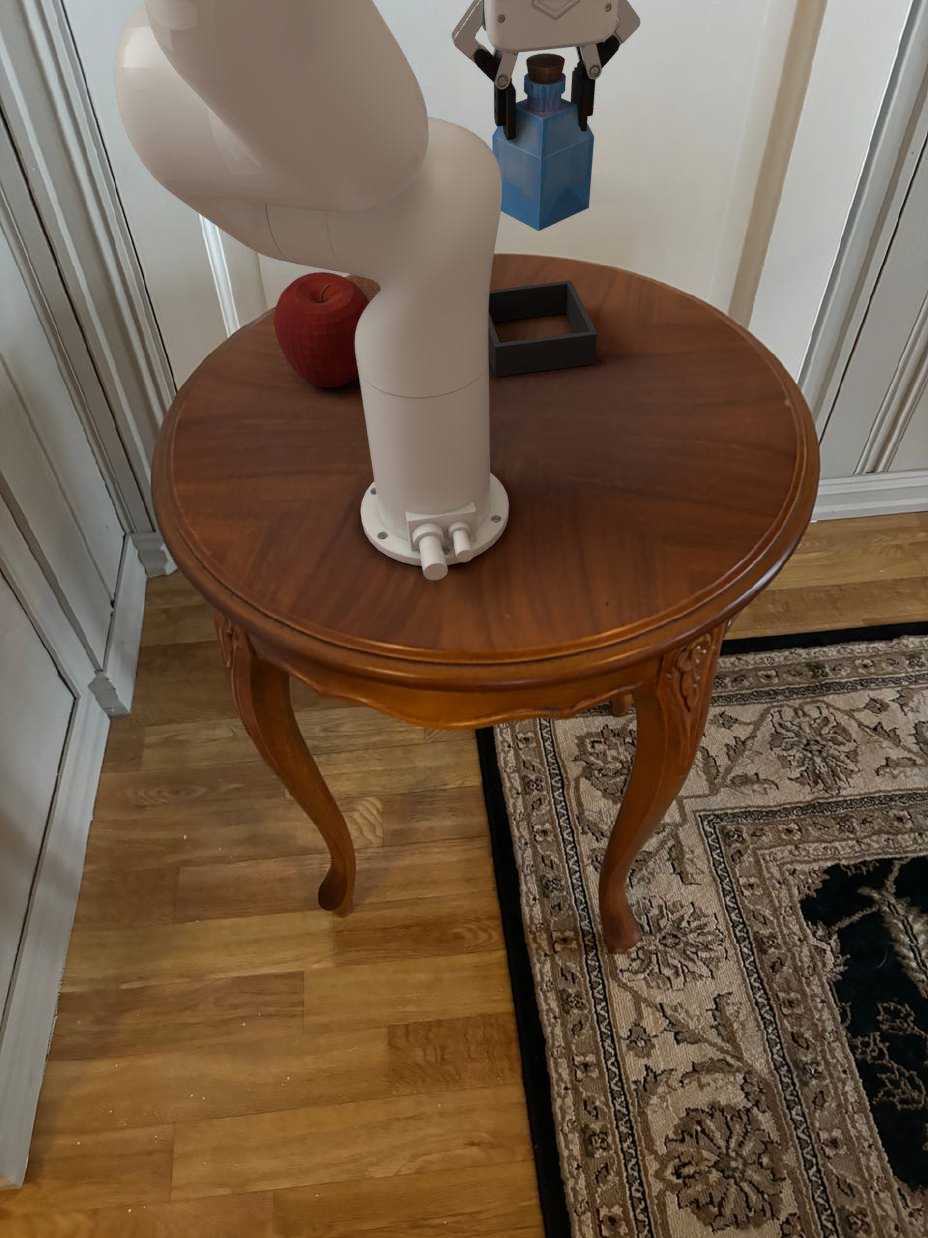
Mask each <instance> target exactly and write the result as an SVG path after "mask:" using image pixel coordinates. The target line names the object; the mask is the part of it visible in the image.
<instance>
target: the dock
mask: <svg viewBox="0 0 928 1238" xmlns="http://www.w3.org/2000/svg"><path fill="white" fill-rule="evenodd" d="M564 314H565V315H566V318H567V320H568V322H569V324H570V327H571V328H572V331H573V333H567V334H566V333H565V334H559V335H550V336H544V337H537V338H530V339H528V338H527V339H521V340H520V339H519V340H513V341H505V342H500V339H499V337H498V333H497V332H496V328H495V325H494V324H495V323H503V322H510V321H518V320H519V321H520V320H525V319H535V318H542V317H549V316H557V315H564ZM597 341H598V332H597V330H596V328H595V325H594V324H593V322H592V320H591V318H590V316H589V314H588V312H587V310H586V308H585V305H584V303H583V301H582V299H581V297H580V295H579V293H578V291H577V289H576V287H575V285H574V283H573V280H571V279H569V280H562V281H554V282H553V281H552V282H545V283H538V284H537V283H536V284H530V285H523V286H522V285H521V286H513V287H506V288H498V289H490V290H489V308H488V357H489V364H490V365H491V368H492V371H493V374H494V377H495V378H500V377H501V378H502V377H510V376H516V375H522V374H523V375H524V374H530V373H537V372H538V373H539V372H545V371H553V370H561V369H568V368H575V367H583V366H589V365H590V366H591V365H595V363H596V353H597V343H598V342H597Z"/></svg>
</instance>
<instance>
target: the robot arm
mask: <svg viewBox="0 0 928 1238" xmlns="http://www.w3.org/2000/svg"><path fill="white" fill-rule="evenodd" d="M640 26H641V18H640V16H639V15H638V13H637V12H636V11H635V9H634V8H633V6H632V5H631V3H630V2H629V1H628V0H472V2H471V4H470V5H469V6H468V8H467V9H466V11H465V12H464V14H463V15H462V17H461V19H460V20H459V21H458V23H457V24H456V26H455V27H454V29H453V30H452V32H451V36H450V37H451V41H452V43H453V45H454V47H455V48H456V49H457V50H459V51H460V52H461V53H462V54H463V55H464V56H465V57H467V58H468V60H470V61H471V62H473V63H474V64H475V65H476V66H477V68H478V69H479V70H480V71H481V72H482V73H483V74H484V75H485V76H486V77H487V78H488V79H489V80H490V81H491V82H492V83H493V118H494V124H495V126H496V128H497V127H498V126H503V132H504V135H505V137H506V139H507V140H513V139H514V138H515V137H516V103H517V89H516V87H515V86H514V83H513V78H512V76H513V73H514V70H515V66H516V63H517V60H518V56H519V53H527V52H529V53H530V52H539V51H549V50H557V49H558V50H559V49H566V48H574V49H575V51H576V55H577V59H578V61H577V62H576V66H574V68H573V70H572V71H571V87H570V102H572V103H574V104H577V105H578V124H579V127H580V128H581V131H584V132H585V131H587V123H588V118H589V117H593V116H594V115H593V114H594V109H595V108H594V106H595V96H596V95H595V94H596V80H597V79H598V78H600V76H601V75H602V71H603V68H604V67H606V65H607V64H608V63H609V62H610V61H611V59H613V57H614V56H615V55H616V54H617V52H618V51H619V50H620V47H621V46H622V44H625V42H626V41H627V40H628V39H629V38H630V37H631V36H632V35H633V34H634V33H635V32H636V31H637V30H638V29H639V27H640ZM481 28H482V29H483V30H484V32H486V35H487V39H488V42H489V43H490V45H491V47H493V48H494V49H493V53H492V52H491V51H489V49H487V47H486V46H484V44H482V43H480V42H479V41H478V40H477V38H476V36H477V34H478V32H479V30H480V29H481ZM395 37H396V36H394V34H393V32H392V31H391V29H390V27H389V26H388V24H387V22H386V21H385V19H384V17H383V16H382V14H381V12H380V11H379V9H378V8H377V5H376V4H375V2H374V1H373V0H143V2H142V3H141V4H140V5H139V6H138V7H136V8H135V10H134V11H133V12H132V13H131V14H130V16H129V18H128V19H127V21H126V22H125V25H124V26H123V28H122V31H121V34H120V36H119V39H118V42H117V45H116V50H115V55H114V63H113V65H114V66H113V68H114V69H113V79H114V80H113V81H114V90H115V92H114V93H115V97H116V103H117V109H118V113H119V116H120V119H121V122H122V125H123V128H124V131H125V133H126V135H127V138H128V140H129V142H130V143H131V146H132V148H133V150H134V151H135V153H136V155H137V157H138V158H139V160H140V162H141V163H142V165H143V166H144V167H145V169H146V170H147V171H148V173H149V174H150V175H151V176H152V177H153V179H155V181H156V182H158V183H159V184H160V186H162V187H163V188H164V189H165V190H166V191H168V192H169V193H171V195H173V196H174V197H176V198H177V199H178V200H179V201H181V202H182V203H184V204H185V205H187V207H189V208H191V209H192V210H194V211H195V212H197V213H198V214H199V215H201V216H202V217H203V218H205V219H206V220H207V221H209V222H210V223H212V224H213V225H214V226H216V227H217V228H218V229H220V230H222V231H223V232H224V233H225V234H227V235H229V236H230V237H232V238H233V239H234V240H236V241H237V242H239V243H240V244H242V245H244V246H245V247H247V248H248V249H250V250H252V251H254V252H256V253H258V254H260V255H262V256H264V257H267V258H270V259H274V260H277V261H281V262H286V263H290V264H295V265H300V266H304V267H311V268H317V269H323V270H328V271H332V272H338V273H344V274H348V275H350V276H356V277H360V278H363V279H364V278H365V279H368V280H371V281H373V282H374V283H376V284H378V286H379V289H380V290H379V291H378V292H377V293H376V294H375V295H374V296H373V298H372V299H371V300H370V301H369V304H368V305H367V307H366V308H365V310H364V311H363V313H362V315H361V317H360V319H359V322H358V324H357V328H356V333H355V353H356V360H357V367H358V372H359V376H358V379H359V385H360V391H361V392H360V393H361V398H362V406H363V413H364V419H365V427H366V433H367V439H368V440H367V441H368V446H369V447H368V448H369V453H370V461H371V467H372V472H373V474H372V475H373V482H372V483H371V484H370V485H369V487H368V488H367V490H366V491H365V493H364V495H363V498H362V500H361V505H360V516H361V518H360V519H361V524H362V527H363V531H364V534H365V536H366V537H367V539H368V541H369V542H370V543H371V544H372V545H373V546H374V547H375V548H376V549H377V550H378V551H379V552H381V553H382V554H384V555H385V556H387V557H389V558H391V559H394V560H396V561H398V562H401V563H405V564H408V565H411V566H420V567H421V568H422V569H421V570H422V573H423V577H424V578H426V580H429V581H439V580H441V579H443V578H445V577H446V576H447V575H448V572H449V569H448V568H449V567H448V566H449V565H456V564H459V563H467V562H470V561H471V560H472V559H474V558H475V557H477V556H479V555H481V554H483V553H484V552H485V551H487V550H488V549H490V548H491V547H492V546H494V544H495V543H496V542H497V541H498V540H499V539H500V538H501V536H502V535H503V533H504V532H505V529H506V527H507V524H508V521H509V515H510V514H509V513H510V512H509V511H510V503H509V498H508V497H509V496H508V493H507V491H506V489H505V487H504V485H503V484H502V482H501V481H500V480H499V478H497V476H495V475H494V474H493V473H492V472H491V440H490V439H491V438H490V437H491V436H490V434H491V433H490V430H491V429H490V428H491V427H490V369H489V368H490V366H489V365H490V360H489V357H488V308H489V290H491V289H490V288H491V278H492V269H493V262H494V256H495V249H496V242H497V238H498V231H499V225H500V219H501V212H502V211H501V203H502V178H501V172H500V167H499V164H498V161H497V159H496V157H495V155H494V153H493V152H492V149H491V147H490V146H489V145H488V143H487V142H486V141H485V140H484V139H483V138H481V137H480V136H479V135H478V134H476V133H475V132H474V131H471V130H470V129H468V128H466V127H464V126H462V125H460V124H457V123H454V122H450V121H448V120H444V119H441V118H436V117H431V116H428V108H427V105H426V102H425V97H424V94H423V90H422V88H421V86H420V83H419V81H418V78H417V77H416V75H415V72H414V71H413V68H412V66H411V64H410V63H409V61H408V59H407V57H406V55H405V53H404V51H403V49H402V48H401V46H400V44H399V42H398V41H397V39H396V38H395Z"/></svg>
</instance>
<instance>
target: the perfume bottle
mask: <svg viewBox="0 0 928 1238" xmlns="http://www.w3.org/2000/svg"><path fill="white" fill-rule="evenodd" d="M565 63H566V59H565V58H564V56H562V55H560V54H556V53H550V52H549V53H547V52H545V53H536V54H533V55H530V56H528V57H527V58H526V59H525V64H526V70H527V72H526V74H525V75H523V93H524V94H526V98H524V99H521V100H519V101H516V137H515V138H514V139H513V140H507V139H506V137H505V135H504V132H503V126H498V127H497V126H496V129H495V130H494V132H493V133H492V136H491V137H492V139H491V140H492V141H491V142H492V144H491V146H492V149H491V150H492V152H493V153H494V155H495V157H496V159H497V161H498V164H499V167H500V172H501V178H502V203H501V212H502V213H503V214H506V215H507V216H509V217H511V218H513V219H515V220H517V221H518V222H521V223H522V224H524V225H526V226H528V227H530V228H531V229H534V230H535V231H537V232H541V231H543V230H545V229H547V228H549V227H552V226H554V225H556V224H558V223H560V222H561V221H565V220H566V219H569V218H571V217H573V216H575V215H577V214H579V213H581V212H583V211H585V210H587V209H590V198H591V188H592V173H593V172H592V171H593V159H594V147H595V134H594V132H593V131H592V130H591V127H590V125H589V123H588V122H587V131H585V132H584V131H581V128H580V127H579V124H578V105H577V104H574V103H572V102H571V101H570V100H567V99H565V98H562V95H563V94H564V93H565V92H566V83H567V82H566V81H567V76H566V74H565V73H564V67H565Z"/></svg>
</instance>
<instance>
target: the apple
mask: <svg viewBox="0 0 928 1238" xmlns="http://www.w3.org/2000/svg"><path fill="white" fill-rule="evenodd" d="M369 303H370V300H369V299H368V296H367V294H366V293H365V292H364V291H363V289H361V288H360V286H358V285H357V284H356V283H355V282H354V281H352V280H350V279H348V278H346V277H344V276H343V275H339V274H337V273H332V272H327V271H317V272H311V273H306V274H303V275H301V276H299V277H297V278H296V279H294V280H293V281H292V282H291V283H290V284H289V285H288V286H286V288H285V289H283V291H282V292H281V294H280V295H279V297H278V300H277V303H276V305H275V307H274V316H273V327H274V332H275V333H274V334H275V336H276V340H277V342H278V345H279V348H280V350H281V352H282V354H283V356H284V357H285V359H286V361H287V363H288V364H289V365H290V367H291V369H293V371H294V372H295V373H296V375H298V376H299V377H300V378H301V379H302V380H303V381H304V382H306V383H308V384H310V385H312V386H314V387H318V388H328V389H329V388H336V387H342V386H345V385H347V384H350V383H351V382H353V381H354V380H356V379H357V378H359V372H358V367H357V360H356V353H355V333H356V328H357V324H358V322H359V319H360V317H361V315H362V313H363V311H364V310H365V308H366V307H367V305H368V304H369Z"/></svg>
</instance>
